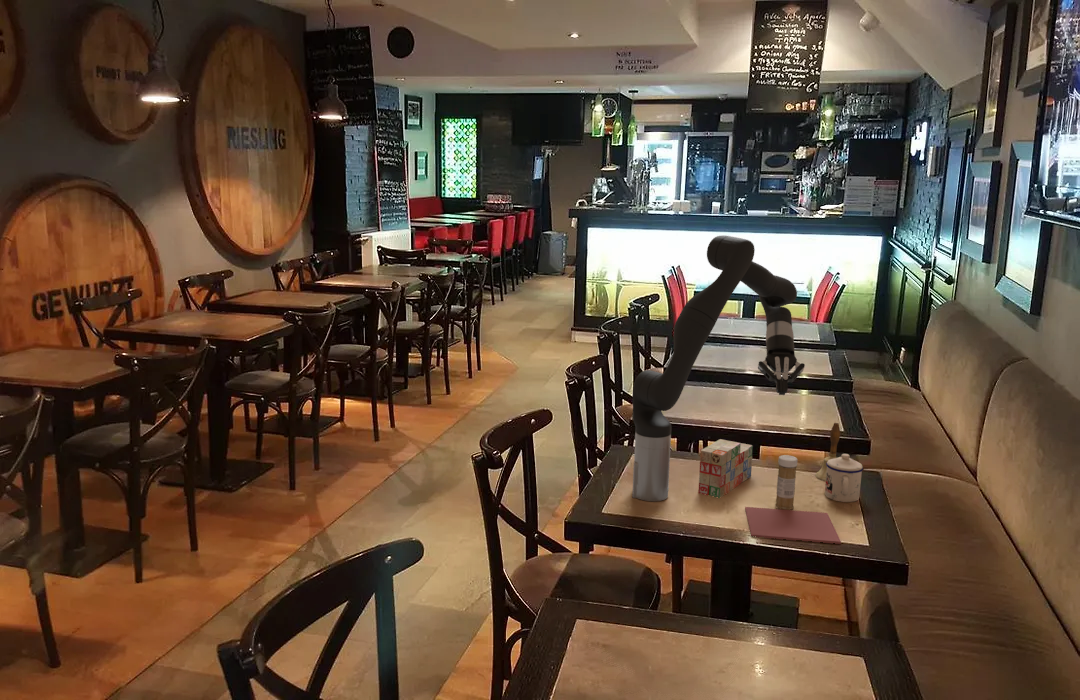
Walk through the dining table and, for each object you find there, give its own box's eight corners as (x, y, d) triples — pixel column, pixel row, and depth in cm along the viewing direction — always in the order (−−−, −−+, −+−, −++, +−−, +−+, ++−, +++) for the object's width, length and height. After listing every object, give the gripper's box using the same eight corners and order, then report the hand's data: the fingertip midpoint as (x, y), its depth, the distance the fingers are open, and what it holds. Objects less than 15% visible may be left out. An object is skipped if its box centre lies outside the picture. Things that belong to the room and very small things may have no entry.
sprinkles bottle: (792, 505, 207) (796, 455, 205) (794, 511, 203) (798, 461, 200) (774, 503, 208) (778, 453, 206) (775, 510, 204) (779, 459, 201)
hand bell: (820, 470, 234) (825, 417, 230) (849, 476, 229) (855, 422, 226) (811, 478, 227) (816, 424, 224) (841, 485, 222) (846, 429, 219)
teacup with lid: (822, 488, 219) (826, 447, 217) (858, 492, 217) (862, 451, 214) (825, 504, 208) (829, 461, 206) (862, 509, 205) (867, 465, 203)
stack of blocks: (730, 471, 231) (733, 430, 229) (751, 476, 228) (754, 435, 225) (697, 493, 215) (700, 449, 212) (719, 499, 211) (722, 454, 209)
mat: (751, 536, 188) (751, 534, 188) (745, 508, 204) (745, 506, 204) (840, 544, 185) (840, 541, 185) (827, 515, 201) (827, 512, 201)
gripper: (757, 332, 226) (758, 385, 216) (806, 334, 224) (810, 387, 214) (754, 347, 232) (755, 399, 222) (801, 349, 230) (805, 401, 220)
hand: (782, 393), depth 218 cm, fingers closed
